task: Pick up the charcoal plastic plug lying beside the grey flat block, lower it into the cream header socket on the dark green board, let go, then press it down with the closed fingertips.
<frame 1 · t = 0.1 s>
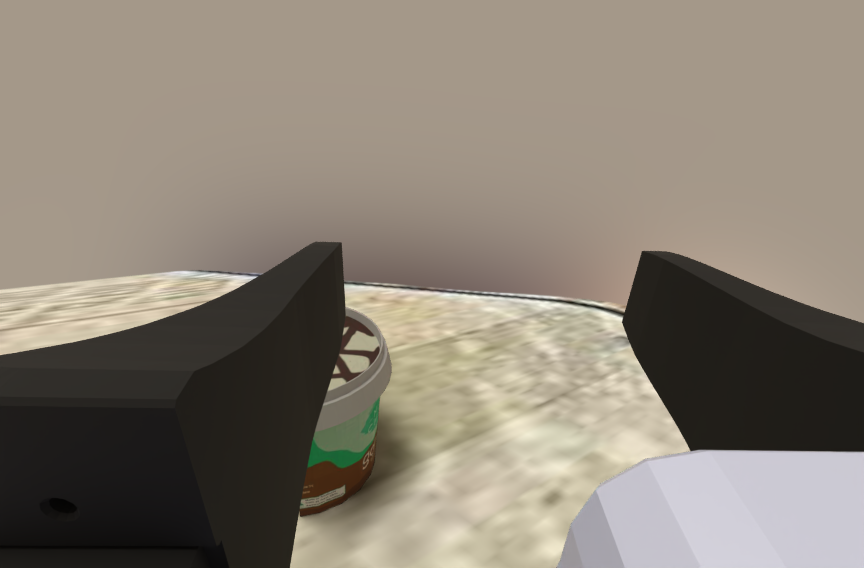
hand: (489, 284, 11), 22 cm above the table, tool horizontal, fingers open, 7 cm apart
food container: (348, 459, 35), on the table
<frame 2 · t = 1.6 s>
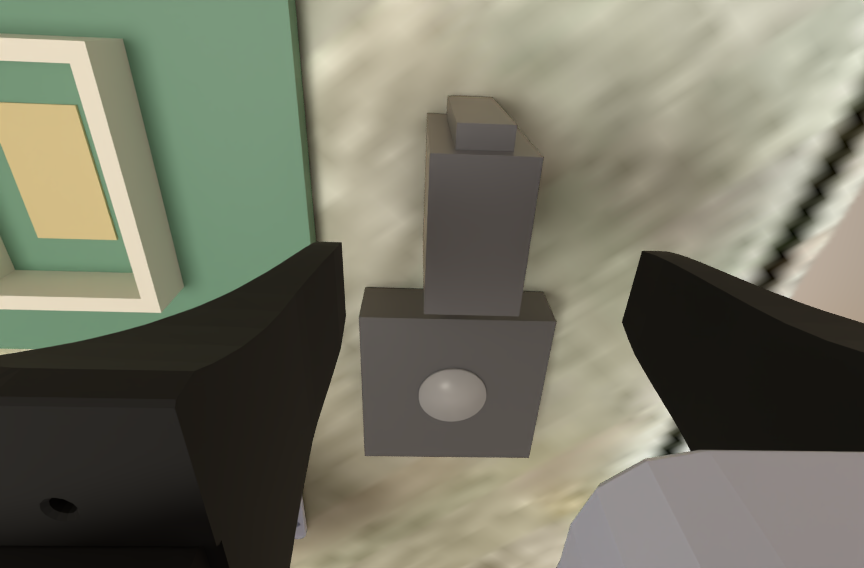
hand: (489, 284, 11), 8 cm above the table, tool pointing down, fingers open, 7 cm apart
grey flat block: (449, 360, 23), on the table
plug: (462, 180, 19), on the table
board: (101, 168, 18), on the table
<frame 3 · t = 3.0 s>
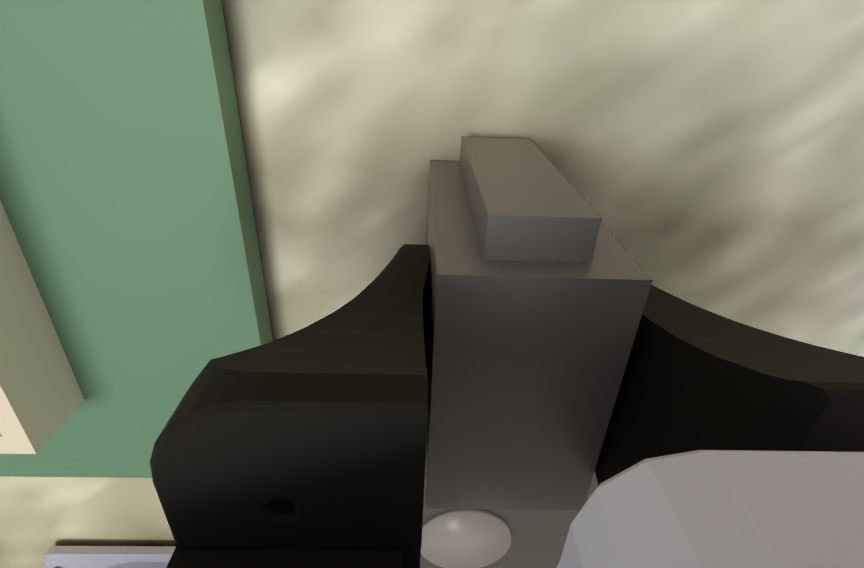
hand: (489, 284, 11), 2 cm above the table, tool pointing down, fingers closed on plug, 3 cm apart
grey flat block: (458, 475, 17), on the table
plug: (481, 253, 13), on the table, touching gripper
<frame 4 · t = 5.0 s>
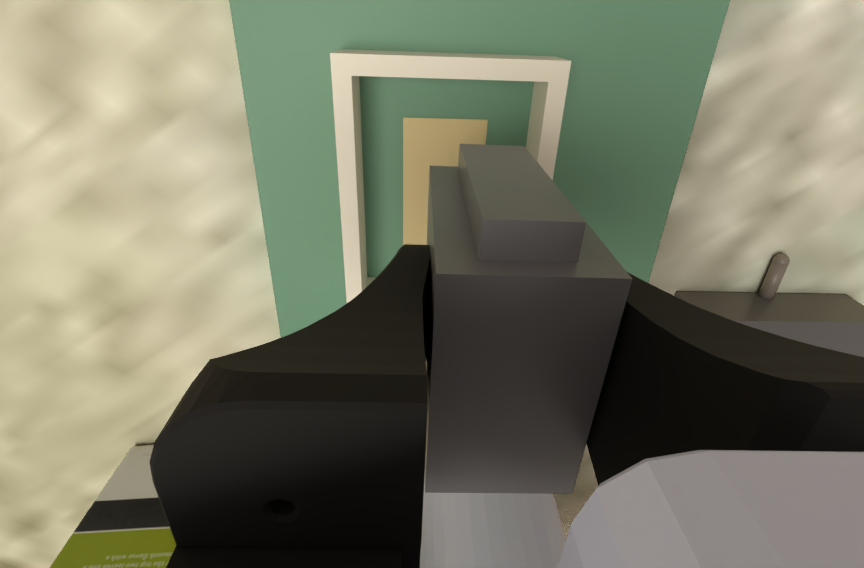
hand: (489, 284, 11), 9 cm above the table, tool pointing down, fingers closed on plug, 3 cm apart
grey flat block: (732, 361, 24), on the table
plug: (478, 253, 14), point 6 cm above the table, touching gripper
tea box: (251, 518, 30), on the table
board: (466, 179, 19), on the table
when the fingers open (4 cm above the table, at t = 6.9 s): plug stays where it is, resting on board.
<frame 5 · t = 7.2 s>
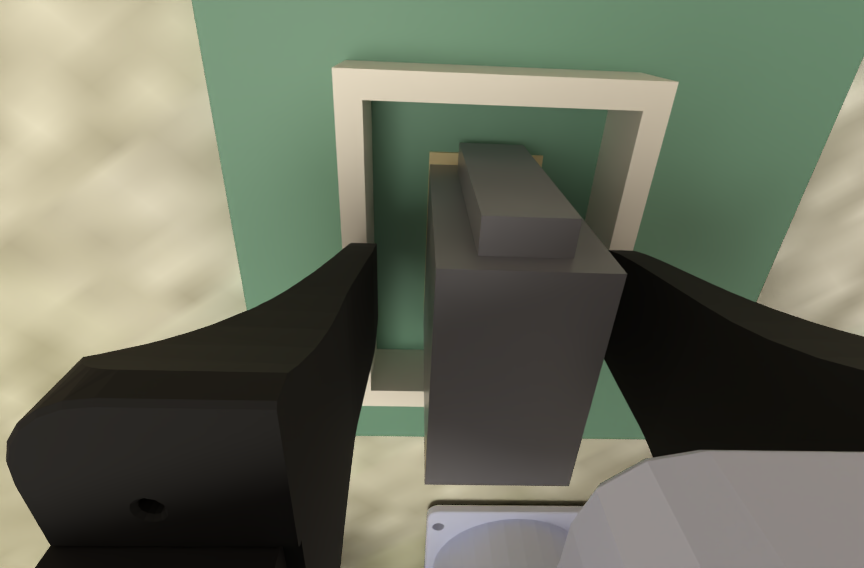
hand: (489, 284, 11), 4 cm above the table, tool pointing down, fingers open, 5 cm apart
plug: (477, 251, 14), point 1 cm above the table, touching board
board: (506, 227, 15), on the table
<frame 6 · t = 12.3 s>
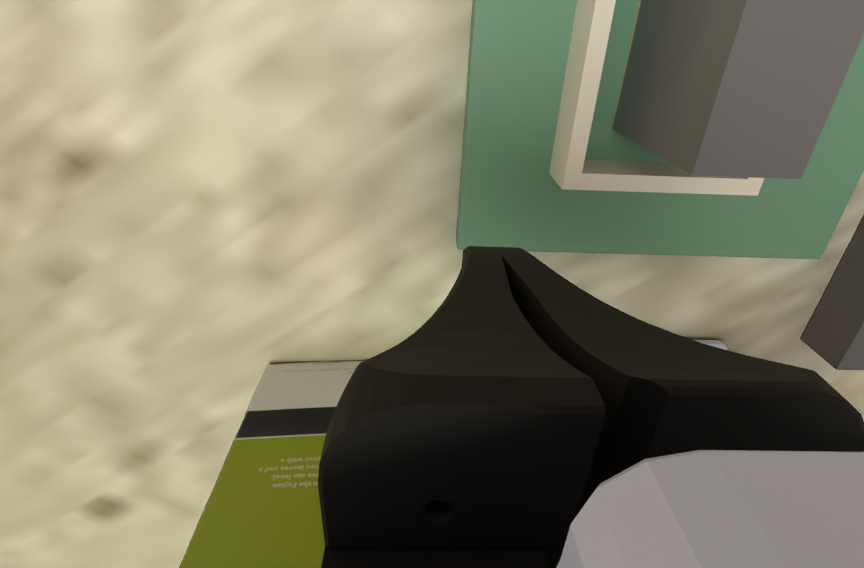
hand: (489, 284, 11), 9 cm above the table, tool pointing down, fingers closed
plug: (670, 57, 17), point 1 cm above the table, touching board
tea box: (373, 452, 28), on the table
board: (685, 47, 18), on the table
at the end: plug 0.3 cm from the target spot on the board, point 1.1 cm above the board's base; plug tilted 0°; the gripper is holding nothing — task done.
